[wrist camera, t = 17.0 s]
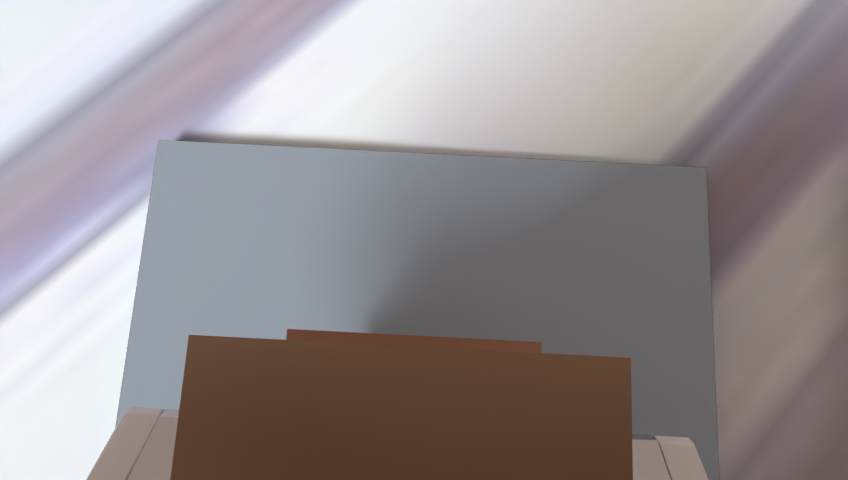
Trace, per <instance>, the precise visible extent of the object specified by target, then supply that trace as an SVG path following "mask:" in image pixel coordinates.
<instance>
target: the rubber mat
mask: <svg viewBox="0 0 848 480" xmlns="http://www.w3.org/2000/svg"><path fill="white" fill-rule="evenodd" d="M287 329H299V330H318V331H338V332H357V333H376V334H396V335H415V336H434V337H453V338H473V339H492V340H511V341H530V342H542V353H549V354H569V355H588V356H607V357H626V358H631V393H632V434H640V435H650V436H670V437H688V438H689V439H690V440H691V441H692V442H693V443H694V445H695V447H696V450H697V452H698V455H699V457H700V460H701V462H702V465H703V467H704V470H705V472H706V475H707V477H708V480H719V463H718V439H717V415H716V390H715V366H714V342H713V318H712V293H711V269H710V245H709V220H708V196H707V172H706V167H686V166H667V165H647V164H627V163H607V162H587V161H567V160H547V159H528V158H508V157H488V156H468V155H448V154H428V153H408V152H389V151H369V150H349V149H329V148H309V147H289V146H269V145H250V144H230V143H210V142H190V141H170V140H158V146H157V153H156V159H155V166H154V173H153V179H152V186H151V193H150V199H149V206H148V213H147V220H146V226H145V233H144V240H143V246H142V253H141V260H140V266H139V273H138V280H137V286H136V293H135V300H134V307H133V313H132V320H131V327H130V333H129V340H128V347H127V353H126V360H125V367H124V373H123V380H122V387H121V393H120V400H119V407H118V414H117V420H116V427H117V425H118V423H119V421H120V420H121V418H122V416H123V415H124V414H125V413H126V412H128V411H129V410H130V409H131V408H132V407H141V408H156V409H173V410H179V407H180V400H181V392H182V384H183V376H184V368H185V361H186V353H187V345H188V337H189V335H204V336H223V337H242V338H262V339H281V340H286V335H287ZM116 427H115V428H116Z"/></svg>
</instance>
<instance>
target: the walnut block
mask: <svg viewBox="0 0 848 480" xmlns="http://www.w3.org/2000/svg"><path fill="white" fill-rule="evenodd" d="M170 480H633V452H632V393H631V358H626V357H607V356H588V355H569V354H549V353H542V342H530V341H511V340H492V339H473V338H453V337H434V336H415V335H396V334H376V333H357V332H338V331H318V330H299V329H287V335H286V340H281V339H262V338H242V337H223V336H204V335H189V337H188V345H187V353H186V361H185V368H184V376H183V384H182V392H181V400H180V407H179V415H178V423H177V431H176V439H175V446H174V454H173V462H172V470H171V477H170Z"/></svg>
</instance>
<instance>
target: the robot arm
mask: <svg viewBox="0 0 848 480" xmlns="http://www.w3.org/2000/svg"><path fill="white" fill-rule="evenodd" d="M178 415H179V410H173V409H156V408H141V407H132V408H131V409H130V410H129V411H128V412H126V413H125V414H124V415H123V416H122V418H121V420H120V421H119V423H118V425H117V427H116V428H115V430H114V432H113V434H112V436H111V437H110V439H109V441H108V443H107V444H106V446H105V448H104V450H103V451H102V453H101V455H100V457H99V458H98V460H97V462H96V464H95V465H94V467H93V469H92V471H91V472H90V474H89V476H88V478H87V480H170V477H171V470H172V462H173V454H174V446H175V439H176V431H177V423H178ZM632 452H633V480H708V477H707V475H706V472H705V470H704V467H703V465H702V462H701V460H700V457H699V455H698V452H697V450H696V447H695V445H694V443H693V442H692V441H691V440H690V439H689V438H688V437H670V436H650V435H640V434H632Z"/></svg>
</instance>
